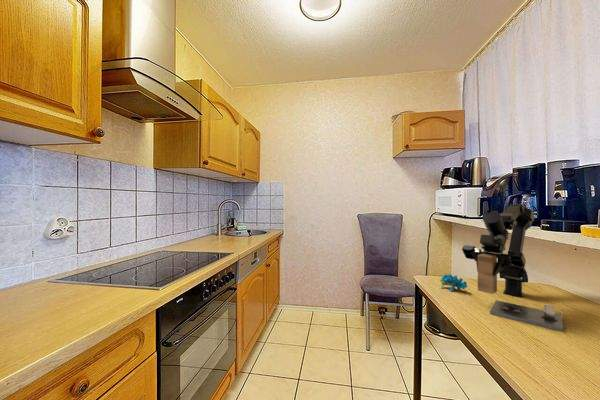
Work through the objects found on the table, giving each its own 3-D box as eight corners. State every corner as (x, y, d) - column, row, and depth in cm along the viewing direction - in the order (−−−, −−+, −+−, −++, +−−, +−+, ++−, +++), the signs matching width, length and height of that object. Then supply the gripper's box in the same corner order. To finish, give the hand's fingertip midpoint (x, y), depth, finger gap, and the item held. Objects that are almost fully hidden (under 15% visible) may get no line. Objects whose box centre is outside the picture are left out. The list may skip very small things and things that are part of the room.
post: (482, 288, 98) (482, 253, 98) (496, 291, 94) (496, 255, 94) (477, 290, 95) (477, 255, 95) (492, 294, 91) (492, 257, 91)
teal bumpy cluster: (472, 288, 114) (461, 273, 111) (468, 299, 111) (457, 285, 108) (446, 284, 123) (436, 271, 120) (443, 295, 120) (432, 282, 117)
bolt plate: (495, 303, 101) (495, 289, 101) (561, 317, 88) (561, 302, 88) (490, 314, 90) (490, 299, 91) (563, 331, 78) (563, 314, 78)
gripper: (463, 225, 104) (451, 255, 98) (522, 228, 89) (512, 265, 83) (472, 242, 109) (460, 272, 102) (529, 249, 94) (520, 285, 87)
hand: (485, 273), depth 94 cm, fingers closed on post, 4 cm apart
